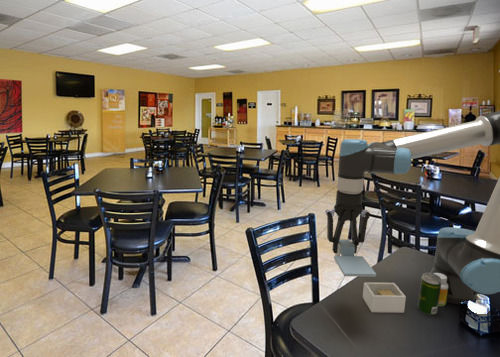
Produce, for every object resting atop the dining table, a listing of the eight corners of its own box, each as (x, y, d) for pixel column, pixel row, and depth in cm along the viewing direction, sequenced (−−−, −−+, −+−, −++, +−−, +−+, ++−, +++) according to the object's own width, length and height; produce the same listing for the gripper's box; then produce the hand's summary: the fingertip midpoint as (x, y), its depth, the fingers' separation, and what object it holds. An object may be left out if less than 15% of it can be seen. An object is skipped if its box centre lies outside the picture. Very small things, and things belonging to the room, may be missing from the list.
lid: (375, 276, 85) (377, 264, 84) (344, 276, 85) (345, 264, 84) (355, 250, 101) (356, 239, 100) (329, 249, 101) (329, 239, 100)
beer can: (440, 313, 98) (445, 278, 95) (430, 318, 95) (435, 283, 92) (423, 304, 102) (428, 270, 100) (413, 309, 100) (418, 274, 97)
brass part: (386, 300, 103) (388, 289, 102) (395, 307, 100) (396, 295, 99) (376, 301, 102) (377, 290, 101) (384, 309, 98) (385, 297, 98)
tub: (392, 299, 105) (394, 282, 104) (403, 314, 97) (405, 296, 96) (362, 298, 105) (364, 282, 104) (371, 313, 97) (373, 296, 96)
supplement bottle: (448, 308, 100) (452, 281, 98) (429, 306, 101) (433, 278, 99) (442, 299, 105) (446, 272, 103) (424, 297, 106) (428, 270, 104)
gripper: (372, 188, 98) (365, 257, 103) (319, 187, 98) (315, 256, 103) (382, 194, 91) (374, 268, 96) (325, 193, 91) (320, 267, 96)
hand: (343, 262), depth 99 cm, fingers closed on lid, 3 cm apart
